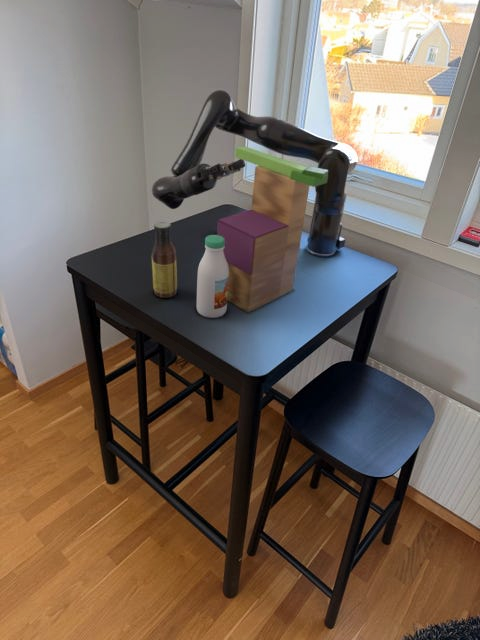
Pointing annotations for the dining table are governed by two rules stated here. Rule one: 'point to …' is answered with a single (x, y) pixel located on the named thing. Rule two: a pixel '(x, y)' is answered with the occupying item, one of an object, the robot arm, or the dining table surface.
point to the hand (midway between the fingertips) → (232, 164)
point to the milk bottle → (213, 279)
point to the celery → (284, 166)
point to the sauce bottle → (164, 261)
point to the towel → (244, 236)
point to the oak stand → (271, 241)
